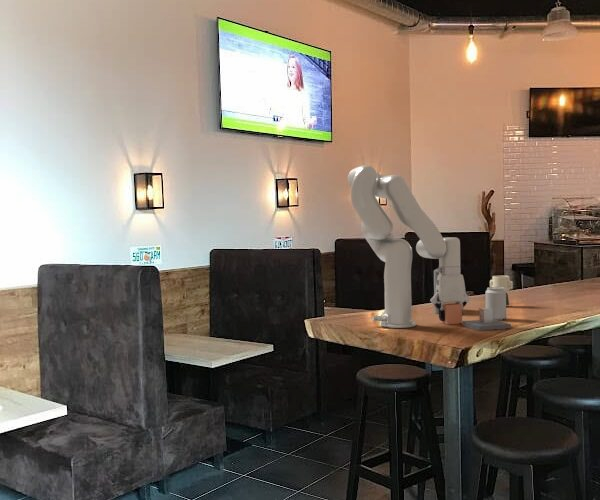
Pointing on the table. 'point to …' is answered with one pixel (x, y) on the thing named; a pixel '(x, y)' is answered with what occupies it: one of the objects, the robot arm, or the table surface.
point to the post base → (486, 326)
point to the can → (496, 302)
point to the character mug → (502, 284)
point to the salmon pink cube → (452, 313)
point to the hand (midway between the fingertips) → (450, 319)
